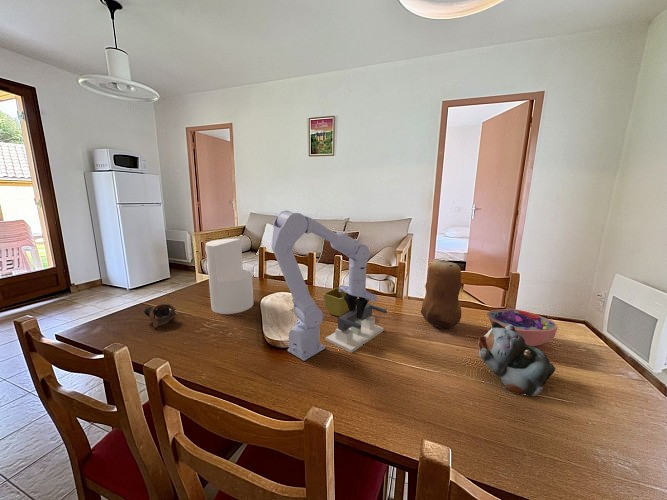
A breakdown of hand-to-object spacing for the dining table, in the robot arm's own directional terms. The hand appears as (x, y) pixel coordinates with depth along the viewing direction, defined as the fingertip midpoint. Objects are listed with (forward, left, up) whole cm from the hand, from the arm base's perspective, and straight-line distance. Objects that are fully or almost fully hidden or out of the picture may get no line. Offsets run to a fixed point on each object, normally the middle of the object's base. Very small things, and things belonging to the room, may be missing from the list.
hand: (356, 315), depth 96 cm
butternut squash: (+27, -19, -8) cm, 34 cm away
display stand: (0, 0, -7) cm, 7 cm away
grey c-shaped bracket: (0, -3, -2) cm, 4 cm away
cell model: (+34, -43, -8) cm, 55 cm away
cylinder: (-16, +55, -8) cm, 58 cm away
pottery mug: (-42, +61, -8) cm, 74 cm away
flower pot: (+9, +16, -8) cm, 20 cm away
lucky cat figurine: (+11, -45, -8) cm, 47 cm away
